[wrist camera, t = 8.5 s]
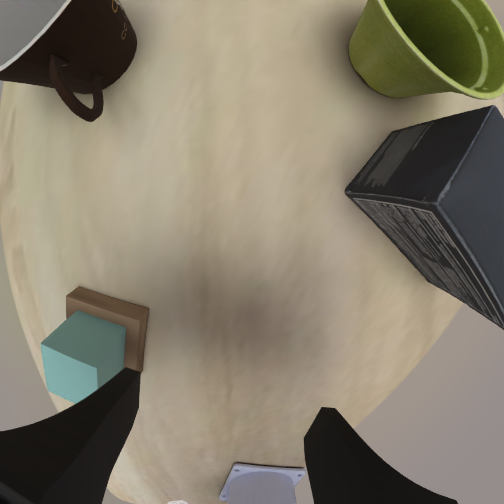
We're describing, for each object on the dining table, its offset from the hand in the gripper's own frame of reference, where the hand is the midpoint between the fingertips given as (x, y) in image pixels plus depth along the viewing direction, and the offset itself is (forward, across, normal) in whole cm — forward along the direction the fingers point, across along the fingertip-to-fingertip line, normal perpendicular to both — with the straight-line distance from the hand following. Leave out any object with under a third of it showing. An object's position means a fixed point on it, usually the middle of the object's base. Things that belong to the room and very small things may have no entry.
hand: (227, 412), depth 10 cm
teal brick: (+8, +9, +5) cm, 13 cm away
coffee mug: (+11, +14, -14) cm, 22 cm away
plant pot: (+11, -6, -20) cm, 23 cm away
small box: (+11, -11, -10) cm, 18 cm away
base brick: (+10, +9, +5) cm, 15 cm away
